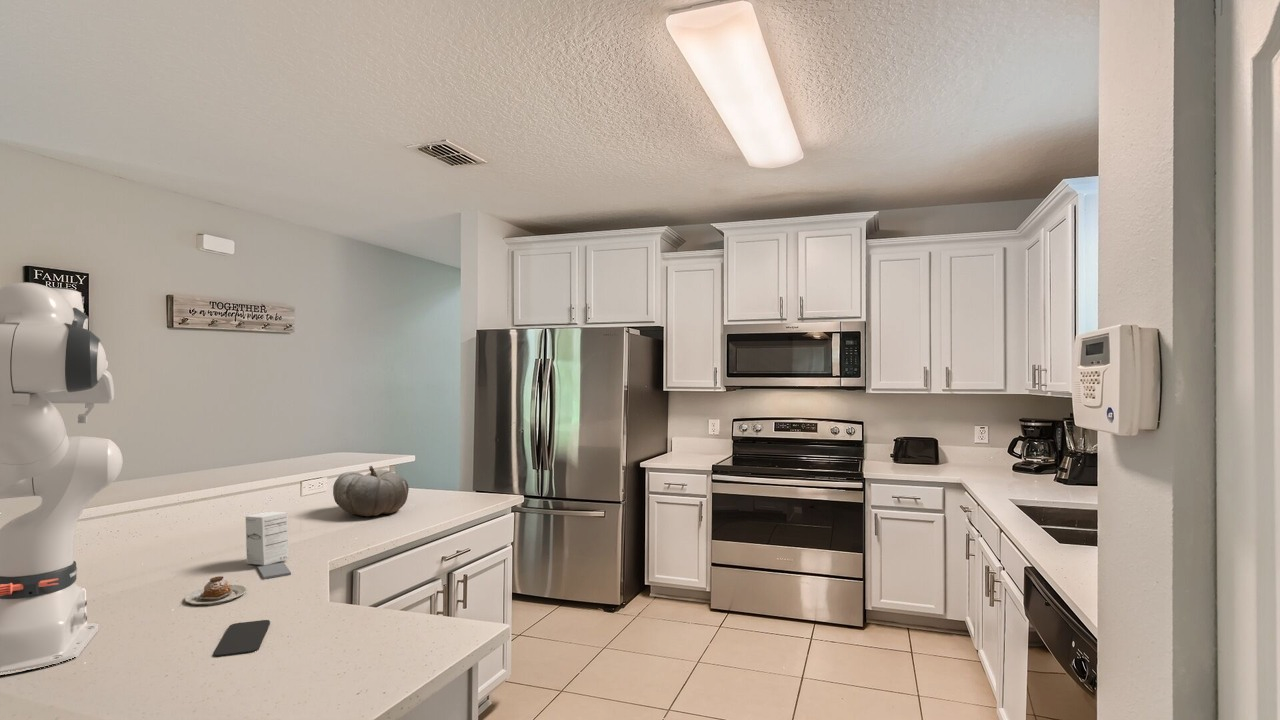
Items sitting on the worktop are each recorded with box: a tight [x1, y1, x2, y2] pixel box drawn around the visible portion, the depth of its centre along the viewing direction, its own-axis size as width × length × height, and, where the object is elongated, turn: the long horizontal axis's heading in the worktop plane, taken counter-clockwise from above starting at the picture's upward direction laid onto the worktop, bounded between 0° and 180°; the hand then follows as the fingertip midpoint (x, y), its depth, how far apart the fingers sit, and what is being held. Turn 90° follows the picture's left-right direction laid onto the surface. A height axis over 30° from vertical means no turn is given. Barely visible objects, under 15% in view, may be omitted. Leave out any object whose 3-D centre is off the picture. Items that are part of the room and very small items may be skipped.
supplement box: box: [245, 511, 290, 566], centre depth 176 cm, size 7×7×13 cm
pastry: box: [184, 576, 248, 606], centre depth 151 cm, size 12×12×5 cm
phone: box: [213, 619, 271, 658], centre depth 129 cm, size 7×1×15 cm
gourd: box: [332, 465, 409, 517], centre depth 233 cm, size 25×25×17 cm
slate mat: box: [257, 561, 292, 580], centre depth 169 cm, size 10×6×1 cm, turn 38°
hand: (54, 423), depth 146 cm, fingers open, 8 cm apart
